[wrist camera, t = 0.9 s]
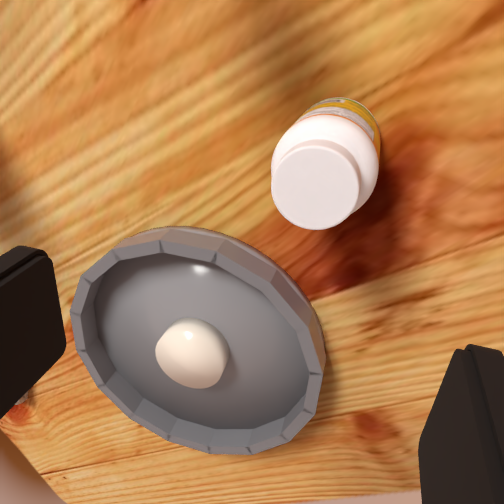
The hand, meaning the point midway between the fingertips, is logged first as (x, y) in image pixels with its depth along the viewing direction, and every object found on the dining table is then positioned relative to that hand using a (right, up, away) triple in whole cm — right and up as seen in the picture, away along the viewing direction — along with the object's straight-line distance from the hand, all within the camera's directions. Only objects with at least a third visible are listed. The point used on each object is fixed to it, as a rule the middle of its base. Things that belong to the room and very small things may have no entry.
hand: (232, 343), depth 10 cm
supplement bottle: (+6, +9, +18) cm, 21 cm away
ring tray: (-4, -6, +29) cm, 29 cm away
